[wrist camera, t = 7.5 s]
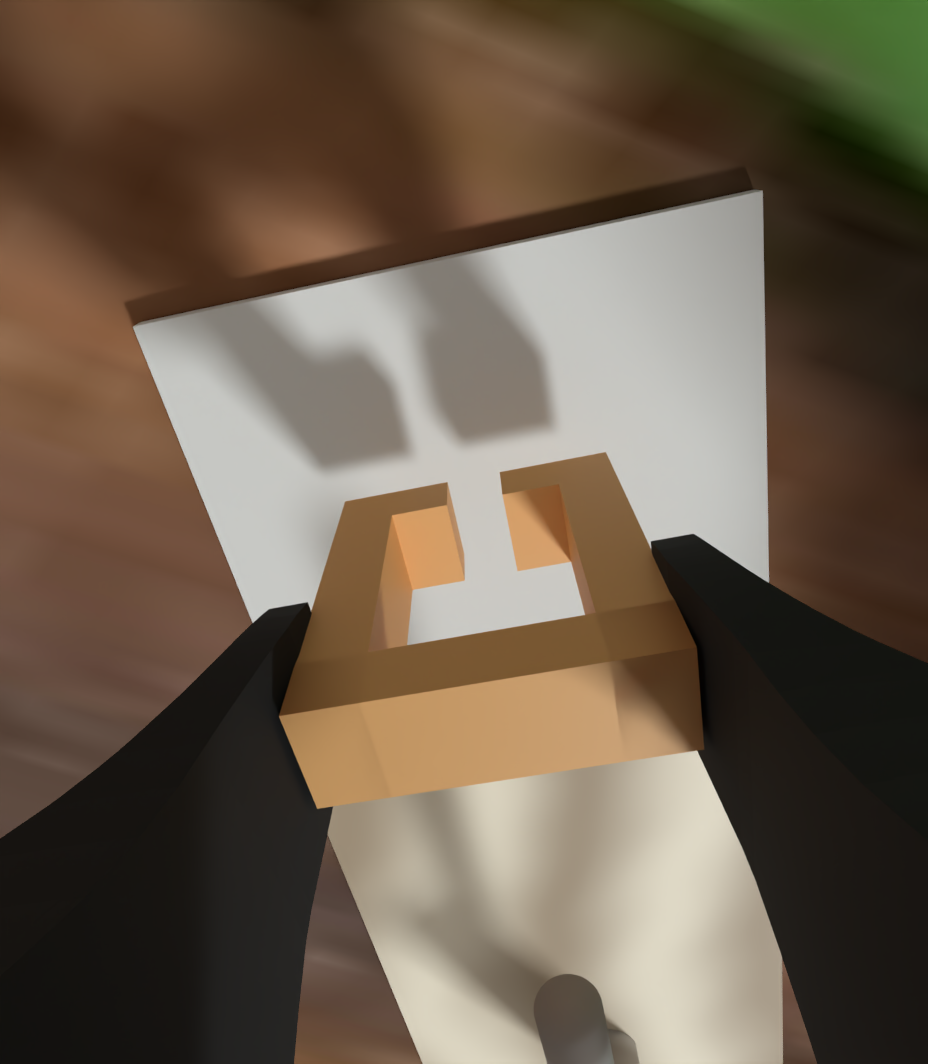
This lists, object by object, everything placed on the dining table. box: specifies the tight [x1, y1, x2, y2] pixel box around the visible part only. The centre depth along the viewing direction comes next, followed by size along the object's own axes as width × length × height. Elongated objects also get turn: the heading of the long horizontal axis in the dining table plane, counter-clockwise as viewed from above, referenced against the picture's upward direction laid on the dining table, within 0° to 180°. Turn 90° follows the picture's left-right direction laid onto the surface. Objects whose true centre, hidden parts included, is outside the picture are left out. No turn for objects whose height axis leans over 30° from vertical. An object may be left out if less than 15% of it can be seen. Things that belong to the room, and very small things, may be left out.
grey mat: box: [133, 189, 769, 645], centre depth 16 cm, size 12×9×1 cm
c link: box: [279, 452, 704, 809], centre depth 12 cm, size 5×2×6 cm, turn 102°
